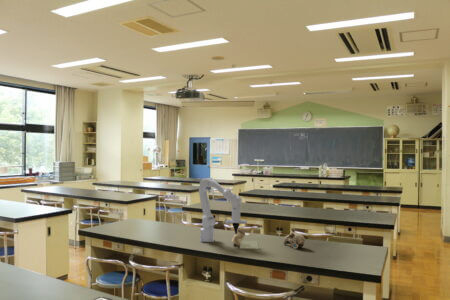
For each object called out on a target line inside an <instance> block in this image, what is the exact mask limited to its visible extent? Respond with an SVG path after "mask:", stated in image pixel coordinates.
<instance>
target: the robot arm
mask: <svg viewBox="0 0 450 300" xmlns="http://www.w3.org/2000/svg"><path fill="white" fill-rule="evenodd" d="M210 188H214V189H215V190H217V191H218V192H220V193H221V194H222V196H223V198H225V199H226V200H227V201H229V202H230V204H231V219H230V220H225V221H224V222H225V224H226V225H228V224H232V228H233V230H234V235H236V234H237V230H238V228H239V227H240V225H242V224H243V225H244V224H245V225H247V223H248V221H247V220H244V219H241V204H242V202H243V201H242V198H241V196H240V195H237V194H236V193H235V194H234V193H233V192H232V190H231V189H226V188H224V187H223V186H222V185H221V184H219V182H217V181H216V180H215V179H213V178H212V177H207V178H204V177H203V178H201V180H200V181H199V187H198V194H199V200H200V203H201V210H202V214H203V215H202V217H201V220H202V221H201V225H202V227H200V234H199V235H200V236H199V240H200V243H201V242H202V243H215V238H214V236H215V225H216V222H217V221H216V219H215V217H214V215H213V214H212V212H211V207H210V203H209V196H208V190H209V189H210Z"/></svg>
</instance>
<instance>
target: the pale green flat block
mask: <svg viewBox="0 0 450 300" xmlns="http://www.w3.org/2000/svg"><path fill="white" fill-rule="evenodd" d="M259 246H260V245H259V244H258V241H257V240H242V241H241V243H240V244H239V249H241V250H242V249H243V250H245V249H247V250H248V249H249V250H259V249H260V247H259Z"/></svg>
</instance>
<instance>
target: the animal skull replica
mask: <svg viewBox="0 0 450 300" xmlns="http://www.w3.org/2000/svg"><path fill="white" fill-rule="evenodd" d="M283 239H284V240H283V245H284V246H287V247H289V246H290V247H289V248H291V247H292V249H293V248H294V249H293V250H298V247H299V248H302V247H304V245H305V242H306V238H305V236H304V235H303V234H302V233H299V232H297V231H296V232H292V233H290V234H288V235H286V236H285V237H284V238H283Z"/></svg>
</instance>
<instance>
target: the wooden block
mask: <svg viewBox="0 0 450 300" xmlns="http://www.w3.org/2000/svg"><path fill="white" fill-rule="evenodd" d="M245 236H246V232H245V231H244V230H243V229H241V228H239V227H238V230H237V234H236V235H235V234H234V235H233V236H232V238H231V242H232V244H234V245H236V246H238V247H240V245H239V244H240V243H241V241H243V239H244V237H245Z"/></svg>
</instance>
